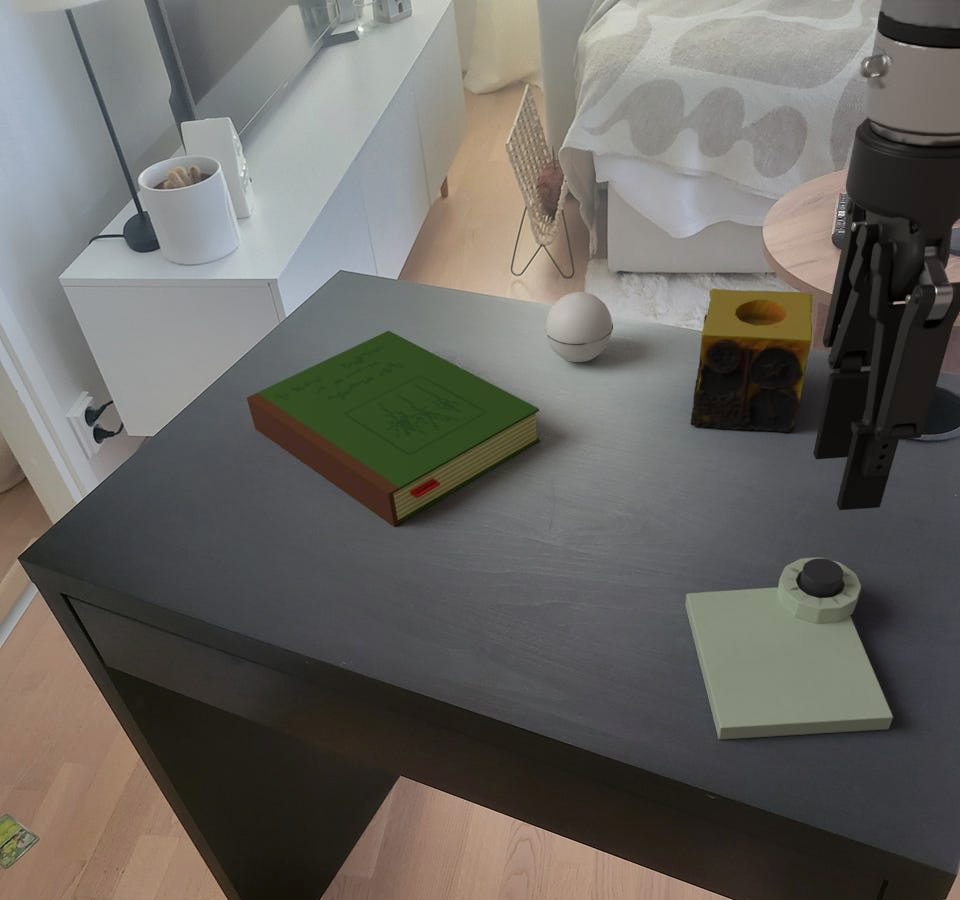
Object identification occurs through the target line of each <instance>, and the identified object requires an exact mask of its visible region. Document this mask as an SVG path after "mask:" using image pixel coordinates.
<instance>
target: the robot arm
mask: <svg viewBox="0 0 960 900" xmlns="http://www.w3.org/2000/svg"><path fill="white" fill-rule="evenodd" d="M859 69H860V71H859V74H860V75H861V77H862V78H866V82H865V86H864V91H863V97H862V102H861V112H862V113H863V115H865V117H866V118H865V119H864V120H863V121H861V123H860V124H859V125H858V126H857V127H856V130H855V132H854V133H855V134H854V138H853V139H854V140H853V144H852V149H851V155H850V160H849V164H848V170H847V174H846V181H845V190H846V194H847V196H848V198H849V199H848V200H847V204H846V208H845V212H846V213H845V222H844V232H843V233H844V235H843V240H842V245H841V249H840V250H841V251H840V254H839V259H838V265H837V269H836V274H835V278H834V284H833V287H832V293H831V297H830V303H829V307H828V312H827V316H826V321H825V325H824V330H823V334H822V335H823V336H822V344H823V347H824V348H827V349H829V348H831V349H830V352H829V354H828V361H827V362H828V366H829V369H830V370H832V373H829V376H828V382H827V385H826V391H825V395H824V400H823V405H822V410H821V414H820V420H819V424H818V429H817V433H816V437H815V444H814V448H813V452H812V454H813V456H814V458H815V460H827V459H840V458H846V463H845V466H844V472H843V475H842V479H841V483H840V487H839V492H838V496H837V499H836V506H837V508H838V510H839V511H850V510H860V509H861V510H862V509H877V508H881V505H882V501H883V498H884V494H885V490H886V487H887V483H888V480H889V476H890V472H891V469H892V466H893V462H894V458H895V455H896V451H897V447H898V446H899V445H898V444H899V441H901V440H911V439H921V437H922V435H923V433H924V430H925V426H926V422H927V419H928V416H929V411H930V409H931V405H932V402H933V398H934V394H935V391H936V387H937V384H938V380H939V377H940V373H941V369H942V367H943V362H944V359H945V356H946V352H947V348H948V344H949V341H950V338H951V335H952V331H953V327H954V325H955V323H956V321H957V319H958V317H959V315H960V281H956V282H950V280H949V278H948V275H947V272H946V269H947V266H948V263H949V260H950V255H951V245H952V236H953V235H952V234H953V226H954V225H955V224H956V222H958V221H959V220H960V0H881V2H880V7H879V13H878V18H877V27H876V29H875V35H874V40H873V47H872V52H871V56H866V57H864V58H863V59H862V61H861V62H860V68H859ZM898 302H901V303H898ZM903 302H904V303H903ZM869 367H870V370H862V368H869Z"/></svg>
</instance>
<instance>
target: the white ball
mask: <svg viewBox="0 0 960 900" xmlns="http://www.w3.org/2000/svg"><path fill="white" fill-rule="evenodd" d="M544 329H545V334H546V340H547V343H548V344H549V346H550V348H551V349H552V351H553V352H554V353H555V354H556V355H557V356H559V357H560V358H561V359H564V361H565V360H566V361H567V362H572V363H583V362H587V361H591V360H592V359H594V358H595V359H596V357H597V356H599V355H600V354H601V353H602V352H603V351H604V350H605V349H606V347H607V346H608V344H609V342H610V340H611V337H612V338H613V337H614V338H621V339H629V340H632V338H631V337H625V336H619V335H612V332H613V329H614V324H613V320H612V315H611V312H610V310H609V309H608V307H607V305H606V303H605V302H603V300H601V299H600V298H599V297H598V296H597V295H595V294H593V293H590V292H585V291H576V292H570V293H568V294H565V295H563V296H562V297H560V298H559V299H558V300H557V301H556V302H554V304H553V305H552V306H551V308H550V310H549V312H548V314H547V316H546V321H545V327H544Z"/></svg>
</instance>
